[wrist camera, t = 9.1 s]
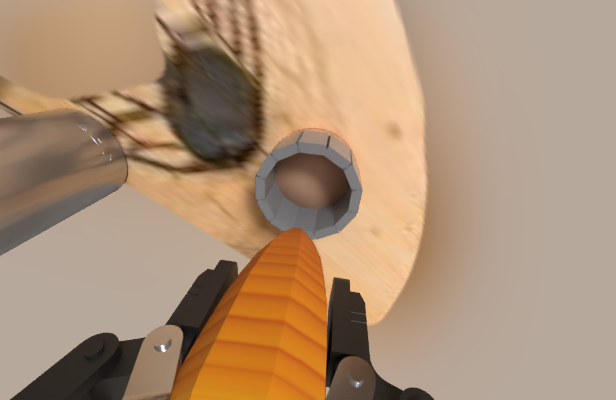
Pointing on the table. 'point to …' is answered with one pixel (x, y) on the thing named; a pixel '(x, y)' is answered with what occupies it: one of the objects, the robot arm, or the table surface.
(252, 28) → the table surface
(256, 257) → the carrot
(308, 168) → the cup
